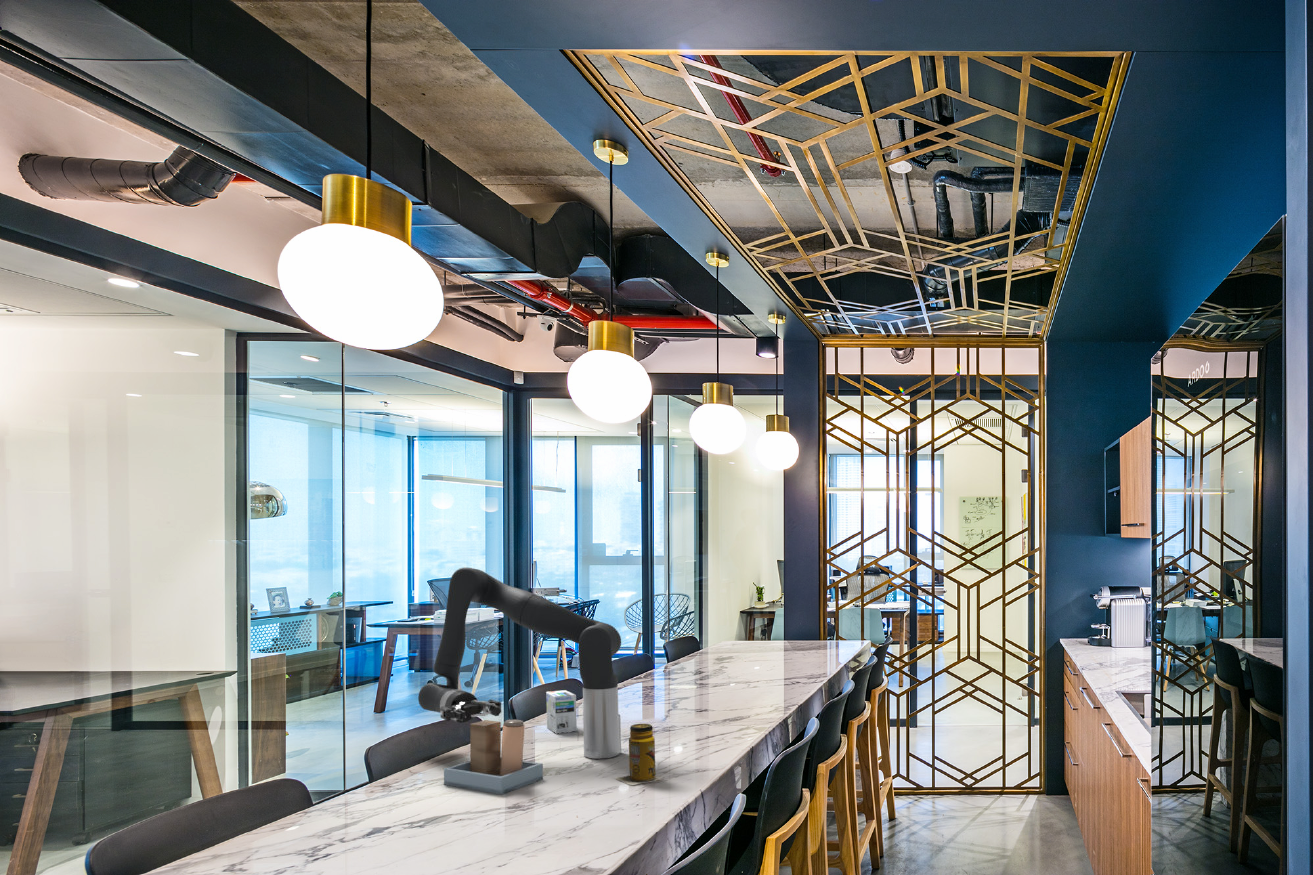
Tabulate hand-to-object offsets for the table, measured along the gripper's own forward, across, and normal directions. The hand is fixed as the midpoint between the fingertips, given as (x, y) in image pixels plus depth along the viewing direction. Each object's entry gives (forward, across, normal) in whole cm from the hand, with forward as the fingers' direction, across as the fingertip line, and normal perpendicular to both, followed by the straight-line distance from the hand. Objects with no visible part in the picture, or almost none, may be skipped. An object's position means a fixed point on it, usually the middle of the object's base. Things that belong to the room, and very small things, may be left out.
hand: (481, 713), depth 203 cm
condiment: (+26, +28, +15) cm, 41 cm away
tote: (+7, 0, +14) cm, 16 cm away
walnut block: (+3, 0, +14) cm, 14 cm away
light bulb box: (-35, +38, +15) cm, 54 cm away
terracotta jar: (+10, +3, +14) cm, 17 cm away
